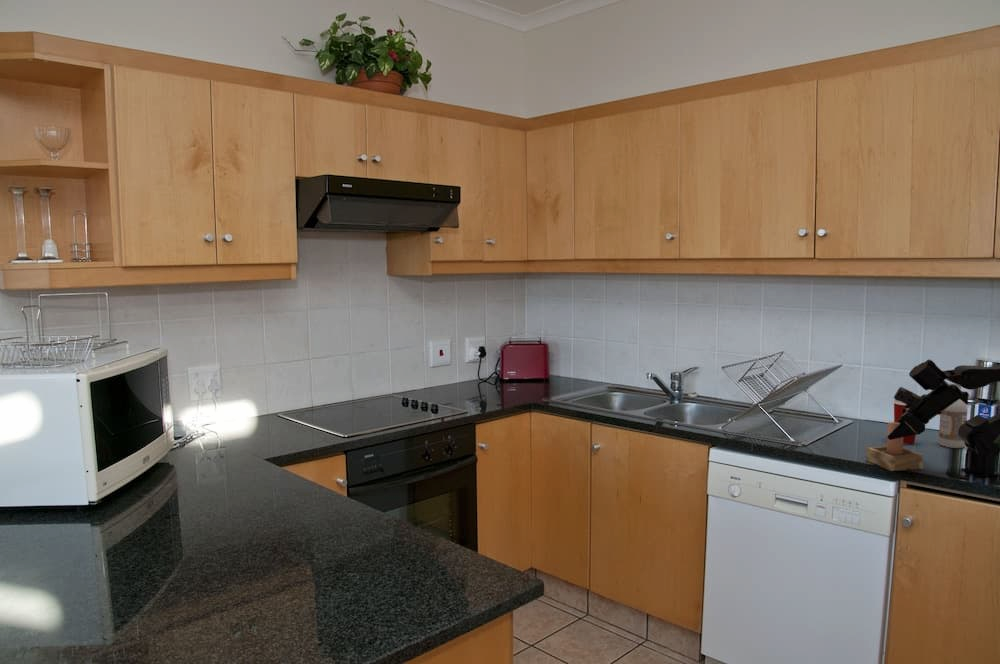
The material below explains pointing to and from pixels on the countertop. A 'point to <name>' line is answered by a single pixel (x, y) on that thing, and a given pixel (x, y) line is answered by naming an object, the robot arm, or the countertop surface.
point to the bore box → (894, 459)
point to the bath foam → (952, 424)
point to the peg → (894, 441)
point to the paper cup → (897, 414)
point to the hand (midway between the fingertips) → (889, 434)
